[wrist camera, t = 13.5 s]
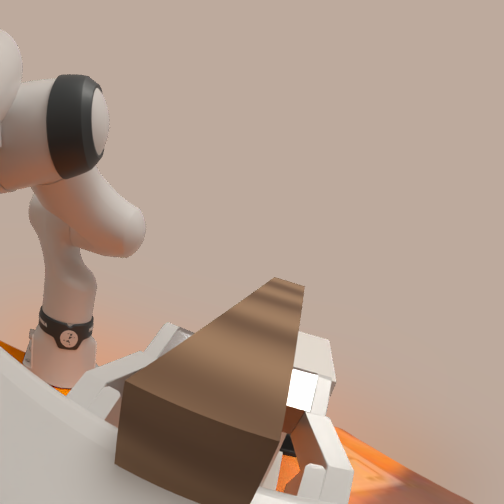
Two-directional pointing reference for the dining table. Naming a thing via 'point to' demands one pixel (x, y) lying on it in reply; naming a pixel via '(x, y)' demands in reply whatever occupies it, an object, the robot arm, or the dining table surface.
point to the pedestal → (312, 359)
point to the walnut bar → (215, 402)
